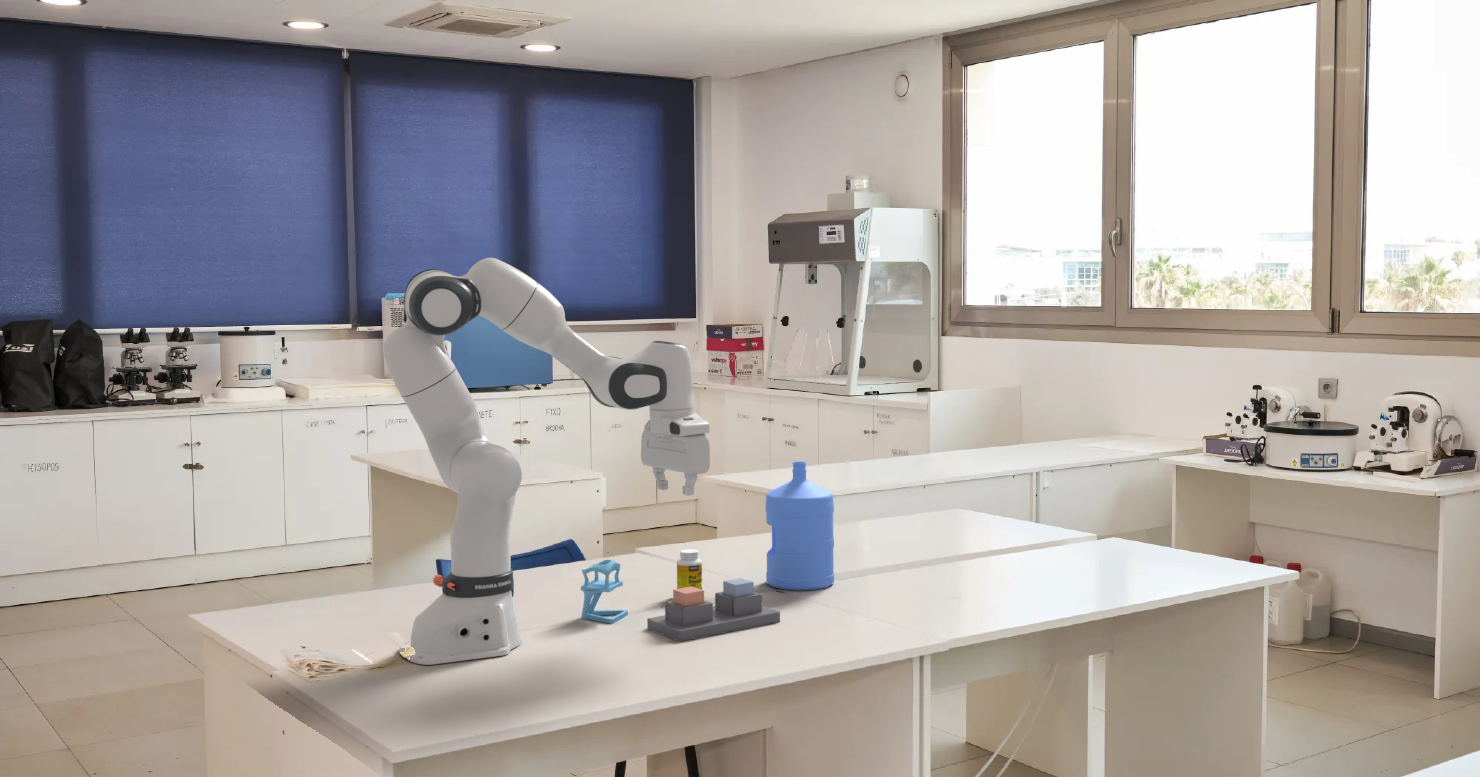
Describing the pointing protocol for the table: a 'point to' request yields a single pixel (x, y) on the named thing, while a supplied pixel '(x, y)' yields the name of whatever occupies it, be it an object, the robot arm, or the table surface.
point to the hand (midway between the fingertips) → (675, 492)
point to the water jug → (800, 534)
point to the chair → (601, 586)
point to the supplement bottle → (689, 569)
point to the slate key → (738, 588)
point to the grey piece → (712, 617)
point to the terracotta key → (688, 596)
